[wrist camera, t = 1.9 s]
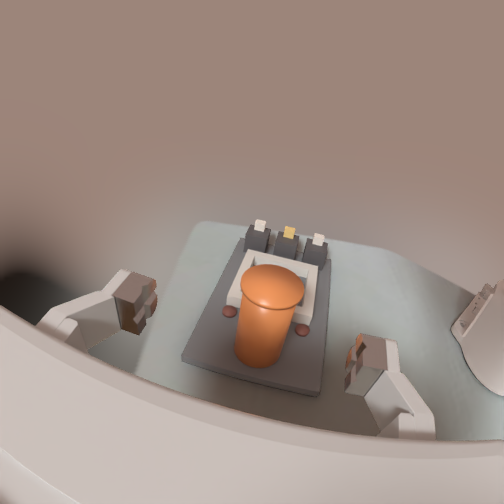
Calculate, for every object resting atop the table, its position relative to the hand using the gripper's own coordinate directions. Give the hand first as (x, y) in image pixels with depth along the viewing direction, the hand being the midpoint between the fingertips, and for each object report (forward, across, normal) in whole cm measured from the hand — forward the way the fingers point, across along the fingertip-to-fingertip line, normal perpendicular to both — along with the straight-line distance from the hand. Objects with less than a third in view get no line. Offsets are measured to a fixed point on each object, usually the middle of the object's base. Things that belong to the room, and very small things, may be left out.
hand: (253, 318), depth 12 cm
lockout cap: (+12, 0, +17) cm, 21 cm away
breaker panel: (+20, 0, +18) cm, 27 cm away
